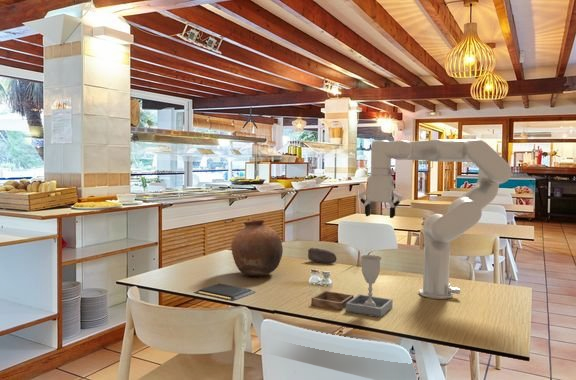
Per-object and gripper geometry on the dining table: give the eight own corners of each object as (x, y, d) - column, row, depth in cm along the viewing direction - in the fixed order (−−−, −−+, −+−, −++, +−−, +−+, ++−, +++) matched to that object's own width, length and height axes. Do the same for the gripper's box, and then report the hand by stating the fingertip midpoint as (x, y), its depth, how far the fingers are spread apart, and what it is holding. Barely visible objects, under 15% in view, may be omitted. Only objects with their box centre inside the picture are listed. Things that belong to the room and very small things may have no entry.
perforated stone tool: (338, 263, 241) (338, 249, 241) (334, 265, 237) (334, 251, 236) (311, 260, 249) (311, 246, 248) (307, 262, 244) (307, 248, 244)
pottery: (281, 281, 205) (282, 223, 204) (227, 280, 206) (227, 222, 204) (283, 268, 228) (283, 216, 226) (234, 268, 229) (234, 215, 227)
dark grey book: (257, 289, 188) (231, 298, 176) (256, 293, 188) (231, 303, 176) (218, 281, 199) (192, 289, 187) (218, 285, 200) (192, 294, 187)
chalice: (356, 309, 167) (357, 257, 166) (363, 303, 173) (364, 254, 172) (377, 312, 164) (378, 260, 162) (382, 306, 170) (384, 256, 168)
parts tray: (392, 307, 171) (392, 299, 170) (381, 318, 160) (381, 309, 159) (358, 302, 177) (359, 294, 177) (345, 311, 166) (346, 303, 166)
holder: (353, 301, 177) (353, 295, 177) (341, 310, 167) (341, 303, 167) (324, 297, 183) (325, 290, 183) (311, 305, 173) (311, 298, 173)
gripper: (405, 173, 184) (404, 217, 185) (362, 171, 193) (361, 214, 194) (400, 173, 178) (398, 219, 179) (356, 172, 186) (355, 216, 187)
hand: (379, 216), depth 186 cm, fingers open, 9 cm apart
